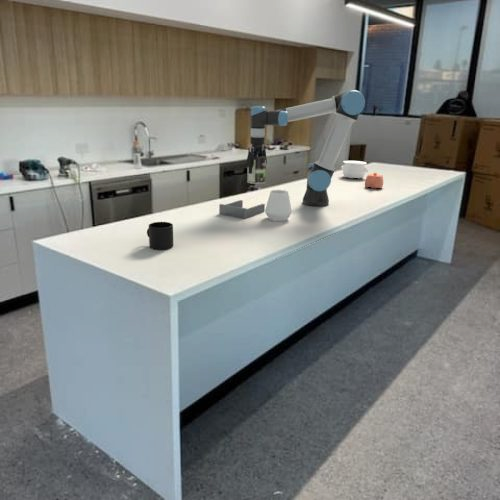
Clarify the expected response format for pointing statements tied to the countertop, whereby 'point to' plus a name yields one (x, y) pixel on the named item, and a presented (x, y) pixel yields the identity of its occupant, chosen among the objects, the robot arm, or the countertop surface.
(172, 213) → the countertop surface
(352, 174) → the pot
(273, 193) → the cup
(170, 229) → the mug
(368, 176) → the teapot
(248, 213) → the grey u-shaped frame
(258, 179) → the coffee can
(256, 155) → the robot arm
